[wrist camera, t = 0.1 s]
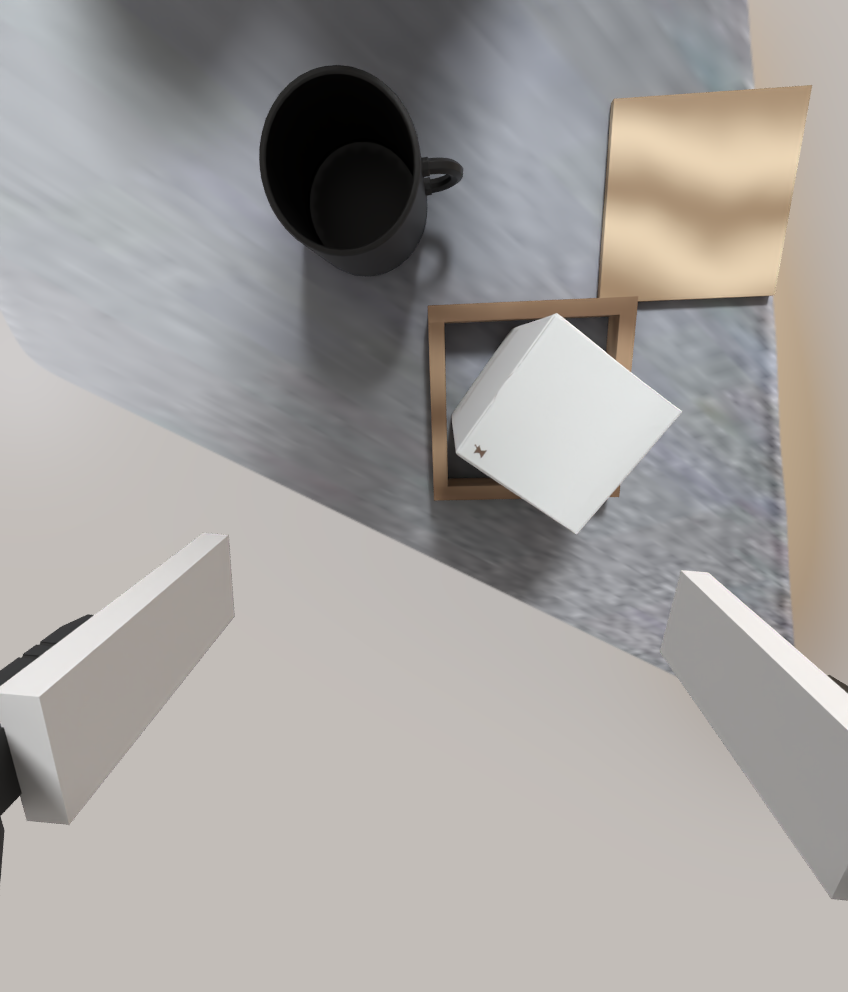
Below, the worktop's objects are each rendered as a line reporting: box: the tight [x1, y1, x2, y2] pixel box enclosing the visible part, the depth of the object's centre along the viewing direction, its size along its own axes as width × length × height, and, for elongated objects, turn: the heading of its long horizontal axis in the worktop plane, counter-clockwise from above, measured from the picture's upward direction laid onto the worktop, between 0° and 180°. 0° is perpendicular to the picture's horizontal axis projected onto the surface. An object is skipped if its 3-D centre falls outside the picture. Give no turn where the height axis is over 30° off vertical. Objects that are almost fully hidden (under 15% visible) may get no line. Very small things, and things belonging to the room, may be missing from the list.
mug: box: [259, 65, 463, 276], centre depth 31 cm, size 9×12×9 cm
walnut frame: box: [428, 296, 638, 500], centre depth 38 cm, size 15×15×2 cm
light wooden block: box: [597, 85, 812, 302], centre depth 34 cm, size 13×13×1 cm
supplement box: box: [451, 313, 682, 534], centre depth 32 cm, size 9×9×15 cm
